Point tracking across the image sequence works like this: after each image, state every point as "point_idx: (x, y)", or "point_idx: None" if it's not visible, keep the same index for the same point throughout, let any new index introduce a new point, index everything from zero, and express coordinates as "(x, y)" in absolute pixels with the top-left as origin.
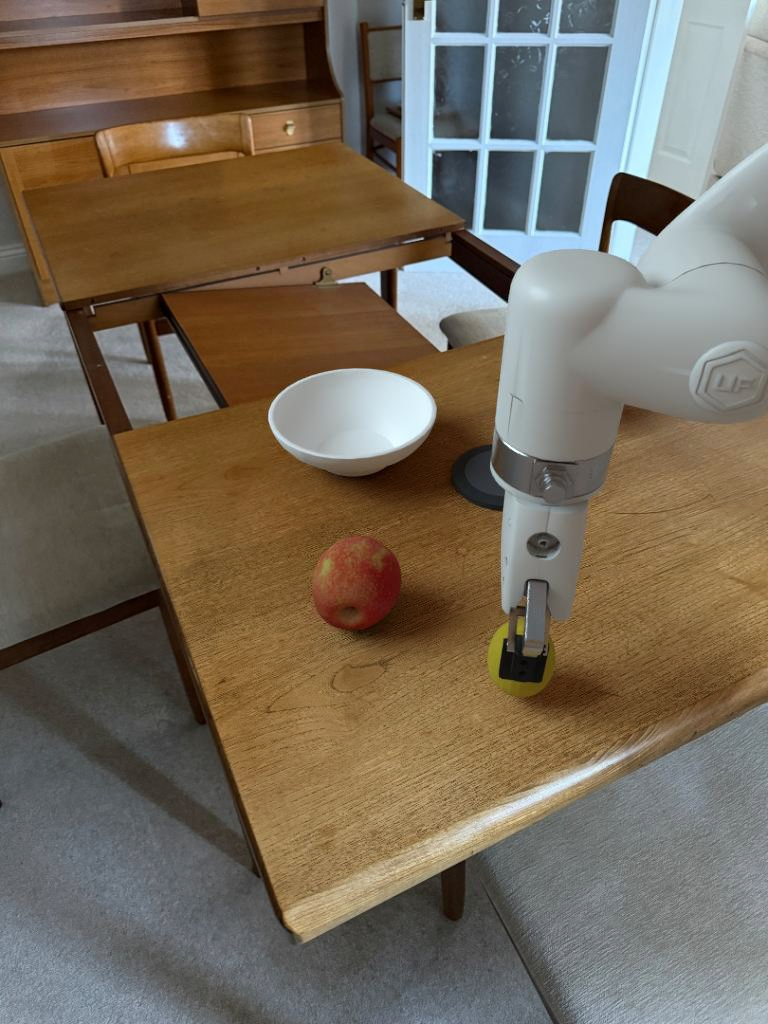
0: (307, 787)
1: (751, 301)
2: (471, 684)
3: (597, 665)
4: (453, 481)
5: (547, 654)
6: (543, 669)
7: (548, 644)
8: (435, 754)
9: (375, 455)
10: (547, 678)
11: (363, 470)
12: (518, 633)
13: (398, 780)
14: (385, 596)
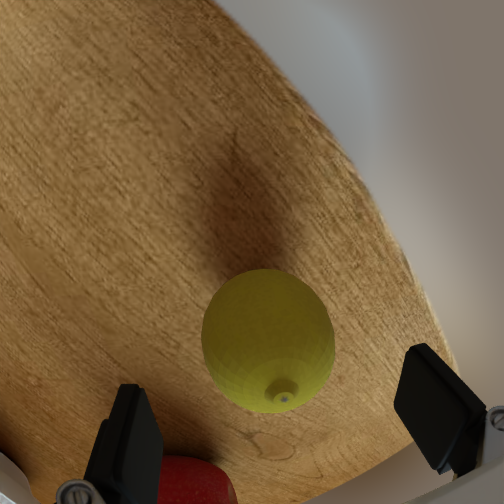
0: (392, 432)
1: None
2: None
3: (174, 169)
4: None
5: (473, 394)
6: (444, 365)
7: (478, 412)
8: (366, 364)
9: (11, 500)
10: (307, 287)
11: (22, 488)
12: (293, 400)
13: (393, 383)
14: (205, 495)
